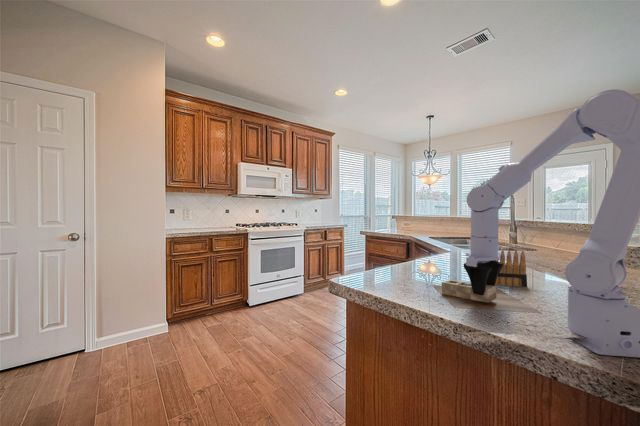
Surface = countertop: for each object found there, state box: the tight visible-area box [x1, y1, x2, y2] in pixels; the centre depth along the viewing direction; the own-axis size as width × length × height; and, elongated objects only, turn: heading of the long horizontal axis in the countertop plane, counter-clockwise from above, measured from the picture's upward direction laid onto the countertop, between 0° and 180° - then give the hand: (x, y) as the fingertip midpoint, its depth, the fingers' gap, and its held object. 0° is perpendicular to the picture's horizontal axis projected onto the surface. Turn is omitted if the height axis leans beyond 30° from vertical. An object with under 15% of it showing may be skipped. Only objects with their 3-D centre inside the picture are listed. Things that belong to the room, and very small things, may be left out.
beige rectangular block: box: [441, 279, 497, 303], centre depth 66 cm, size 11×5×3 cm, turn 37°
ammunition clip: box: [495, 250, 528, 288], centre depth 79 cm, size 11×2×12 cm, turn 76°
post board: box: [432, 283, 542, 314], centre depth 67 cm, size 18×18×5 cm
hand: (483, 292), depth 63 cm, fingers closed on beige rectangular block, 5 cm apart
